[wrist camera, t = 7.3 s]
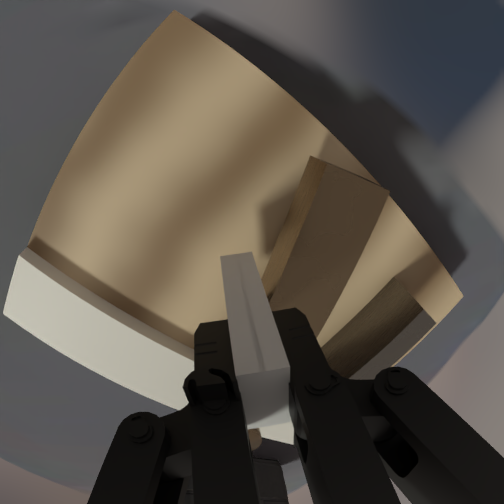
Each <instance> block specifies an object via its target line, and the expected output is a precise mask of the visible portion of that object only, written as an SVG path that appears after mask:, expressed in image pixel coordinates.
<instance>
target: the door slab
mask: <svg viewBox="0 0 504 504" xmlns="http://www.w3.org/2000/svg"><path fill="white" fill-rule="evenodd" d="M310 155H311V156H313V157H316V158H318V159H321V160H323V161H326V162H328V163H331V164H333V165H336V166H338V167H341V168H343V169H345V170H348V171H350V172H352V173H355V174H357V175H359V176H362V177H364V178H366V179H368V180H370V181H372V182H374V183H376V184H378V185H380V184H379V183H378V182H377V181H376V180H375V178H374V177H373V176H372V175H371V174H370V173H369V172H368V171H367V170H366V169H365V167H364V166H363V165H362V164H361V163H360V162H359V161H358V160H357V159H356V158H355V157H354V156H353V155H352V154H351V153H350V151H349V150H348V149H347V148H346V147H345V146H344V145H343V144H342V143H341V142H340V141H339V140H338V139H337V138H336V137H335V136H334V135H333V134H332V133H331V132H330V131H329V130H328V129H327V128H326V127H325V126H323V125H322V124H321V123H320V122H319V121H318V120H317V119H316V118H315V117H314V116H313V115H312V114H311V113H310V112H309V111H307V110H306V109H305V108H304V107H303V106H302V105H301V104H300V103H299V102H298V101H296V100H295V99H294V98H293V97H292V96H291V95H290V94H288V93H287V92H286V91H285V90H284V89H283V88H281V87H280V86H279V85H278V84H277V83H275V82H274V81H273V80H272V79H271V78H269V77H268V76H267V75H266V74H265V73H263V72H262V71H261V70H260V69H258V68H257V67H256V66H254V65H253V64H252V63H251V62H249V61H248V60H247V59H245V58H244V57H243V56H241V55H240V54H239V53H237V52H236V51H235V50H233V49H232V48H231V47H229V46H228V45H227V44H225V43H224V42H222V41H221V40H220V39H218V38H217V37H215V36H214V35H212V34H211V33H209V32H208V31H206V30H205V29H203V28H202V27H200V26H199V25H197V24H196V23H194V22H193V21H191V20H190V19H188V18H187V17H185V16H183V15H182V14H180V13H178V12H177V11H175V10H174V11H173V12H172V13H171V14H170V15H169V16H168V17H167V18H166V19H165V20H164V21H163V22H162V23H161V24H160V26H159V27H158V28H157V29H156V30H155V31H154V32H153V33H152V34H151V36H150V37H149V38H148V39H147V40H146V41H145V43H144V44H143V45H142V46H141V47H140V49H139V50H138V51H137V52H136V54H135V55H134V56H133V57H132V59H131V60H130V61H129V62H128V64H127V65H126V66H125V68H124V69H123V70H122V71H121V73H120V74H119V76H118V77H117V78H116V80H115V81H114V82H113V84H112V85H111V87H110V88H109V89H108V91H107V92H106V94H105V95H104V97H103V98H102V100H101V101H100V103H99V104H98V106H97V107H96V109H95V110H94V112H93V113H92V115H91V117H90V118H89V120H88V121H87V123H86V125H85V126H84V128H83V130H82V131H81V133H80V135H79V136H78V138H77V140H76V142H75V143H74V145H73V147H72V149H71V151H70V152H69V154H68V156H67V158H66V160H65V162H64V164H63V166H62V168H61V170H60V172H59V174H58V176H57V178H56V180H55V182H54V184H53V186H52V188H51V190H50V192H49V194H48V197H47V199H46V201H45V203H44V206H43V208H42V210H41V213H40V215H39V217H38V220H37V222H36V225H35V227H34V230H33V233H32V235H31V238H30V241H29V243H28V246H27V247H28V248H29V249H31V250H32V251H33V252H35V253H36V254H37V255H39V256H40V257H41V258H43V259H44V260H46V261H47V262H48V263H50V264H51V265H53V266H54V267H55V268H57V269H58V270H60V271H61V272H63V273H64V274H66V275H67V276H69V277H70V278H71V279H73V280H74V281H76V282H78V283H79V284H81V285H82V286H84V287H85V288H87V289H88V290H90V291H91V292H93V293H95V294H96V295H98V296H99V297H101V298H102V299H104V300H106V301H107V302H109V303H111V304H112V305H114V306H116V307H117V308H119V309H121V310H122V311H124V312H126V313H127V314H129V315H131V316H133V317H134V318H136V319H138V320H139V321H141V322H143V323H145V324H147V325H148V326H150V327H152V328H154V329H156V330H157V331H159V332H161V333H163V334H165V335H167V336H169V337H171V338H172V339H174V340H176V341H178V342H180V343H182V344H184V345H186V346H188V347H190V348H192V349H194V333H195V331H196V329H197V328H198V326H199V324H200V323H204V322H212V321H219V320H226V319H228V317H227V310H226V302H225V294H224V286H223V277H222V269H221V260H220V256H225V255H232V254H239V253H246V252H252V254H253V257H254V260H255V263H256V266H257V269H258V272H259V275H260V278H261V279H262V276H263V274H264V271H265V269H266V266H267V264H268V261H269V259H270V257H271V254H272V252H273V249H274V247H275V244H276V242H277V239H278V236H279V234H280V231H281V229H282V226H283V224H284V221H285V219H286V216H287V214H288V211H289V209H290V206H291V204H292V201H293V198H294V196H295V193H296V191H297V188H298V186H299V183H300V180H301V178H302V175H303V173H304V170H305V168H306V165H307V162H308V160H309V157H310ZM380 186H381V185H380ZM393 277H395V278H396V279H397V280H398V281H399V283H400V284H401V285H402V286H403V287H404V288H405V289H406V290H407V291H408V292H409V293H410V294H411V295H412V296H413V297H414V298H415V300H416V301H417V302H418V303H419V304H420V305H421V306H422V307H423V308H424V309H425V311H426V312H427V313H428V314H429V315H430V316H431V317H432V319H433V320H434V321H435V322H436V324H435V325H434V326H433V327H432V328H431V329H430V330H429V331H428V332H427V333H426V334H425V335H424V336H423V337H422V338H421V339H420V340H419V341H418V342H417V343H416V344H415V345H414V346H413V347H412V348H411V349H410V350H409V351H408V352H407V353H406V354H405V355H403V356H402V357H401V358H400V359H399V360H398V361H397V362H396V363H395V364H393V365H392V366H391V367H393V366H395V365H396V364H397V363H398V362H399V361H400V360H401V359H402V358H403V357H405V356H406V355H407V354H408V353H409V352H410V351H411V350H412V349H413V348H414V347H415V346H416V345H417V344H418V343H419V342H420V341H422V340H423V339H424V338H425V337H426V336H427V335H428V334H429V333H430V332H431V331H432V330H433V329H434V328H435V327H436V325H437V324H438V323H439V322H440V321H441V320H442V319H443V318H444V317H445V316H446V315H447V314H448V313H449V312H450V311H451V310H452V308H453V307H454V306H455V305H456V304H457V303H458V302H459V301H460V300H461V298H462V297H463V295H462V293H461V291H460V290H459V288H458V287H457V285H456V284H455V282H454V281H453V279H452V278H451V276H450V275H449V273H448V272H447V270H446V269H445V267H444V266H443V264H442V263H441V262H440V260H439V259H438V257H437V256H436V255H435V253H434V252H433V250H432V249H431V248H430V246H429V245H428V244H427V242H426V241H425V240H424V238H423V237H422V236H421V234H420V233H419V232H418V230H417V229H416V228H415V226H414V225H413V224H412V223H411V221H410V220H409V219H408V218H407V216H406V215H405V214H404V213H403V211H402V210H401V209H400V208H399V206H398V205H397V204H396V203H395V202H394V200H393V199H392V198H391V197H390V196H388V198H387V200H386V203H385V205H384V207H383V210H382V212H381V214H380V216H379V218H378V221H377V223H376V225H375V227H374V229H373V232H372V234H371V236H370V238H369V240H368V242H367V244H366V246H365V248H364V250H363V253H362V255H361V257H360V259H359V261H358V263H357V265H356V267H355V269H354V271H353V273H352V275H351V276H350V278H349V280H348V282H347V284H346V286H345V288H344V290H343V292H342V294H341V296H340V297H339V299H338V301H337V303H336V305H335V307H334V309H333V310H332V312H331V314H330V316H329V318H328V319H327V321H326V323H325V325H324V326H323V328H322V330H321V332H320V333H319V335H318V337H317V341H318V343H319V345H320V347H322V346H323V345H324V344H325V343H327V342H328V341H329V340H330V339H331V338H332V337H333V336H334V335H335V334H336V333H337V332H339V331H340V330H341V329H342V328H343V327H344V326H345V325H346V324H347V323H348V322H349V321H350V320H351V319H352V318H353V317H354V316H355V315H356V314H357V313H358V312H359V311H361V310H362V309H363V308H364V307H365V306H366V305H367V304H368V303H369V302H370V301H371V300H372V299H373V298H374V297H375V296H376V294H377V293H378V292H379V291H380V290H381V289H382V288H383V287H384V286H385V285H386V284H387V283H388V282H389V281H390V280H391V279H392V278H393Z"/></svg>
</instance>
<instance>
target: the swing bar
mask: <svg viewBox="0 0 504 504" xmlns="http://www.w3.org/2000/svg"><path fill="white" fill-rule="evenodd" d="M389 193H390V191H389V190H387V189H385V188H383V187H382V186H380V185H378V184H376V183H374V182H372V181H370V180H368V179H366V178H364V177H362V176H359V175H357V174H355V173H352V172H350V171H348V170H345V169H343V168H341V167H338V166H336V165H333V164H331V163H328V162H326V161H323V160H321V159H318V158H316V157H313V156H311V155H310V157H309V160H308V162H307V165H306V168H305V170H304V173H303V175H302V178H301V180H300V183H299V186H298V188H297V191H296V193H295V196H294V198H293V201H292V204H291V206H290V209H289V211H288V214H287V216H286V219H285V221H284V224H283V226H282V229H281V231H280V234H279V236H278V239H277V242H276V244H275V247H274V249H273V252H272V254H271V257H270V259H269V261H268V264H267V266H266V269H265V271H264V274H263V276H262V279H261V281H262V284H263V287H264V290H265V293H266V296H267V299H268V302H269V305H270V308H271V311H278V310H283V309H289V308H295V307H296V308H297V309H298V310H300V311H301V312H302V313H304V314H305V315H306V317H307V319H308V321H309V324H310V327H311V328H312V330H313V332H314V335H315V336H316V339H317V337H318V335H319V333H320V332H321V330H322V328H323V326H324V325H325V323H326V321H327V319H328V318H329V316H330V314H331V312H332V310H333V309H334V307H335V305H336V303H337V301H338V299H339V297H340V296H341V294H342V292H343V290H344V288H345V286H346V284H347V282H348V280H349V278H350V276H351V275H352V273H353V271H354V269H355V267H356V265H357V263H358V261H359V259H360V257H361V255H362V253H363V250H364V248H365V246H366V244H367V242H368V240H369V238H370V236H371V234H372V232H373V229H374V227H375V225H376V223H377V221H378V218H379V216H380V214H381V212H382V210H383V207H384V205H385V203H386V200H387V198H388V196H389ZM248 434H249V439H250V444H251V449H252V451H253V450H255V449H257V448H258V447H259V446H260V445H261V443H262V438H261V433H260V428H254V429H248Z"/></svg>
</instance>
